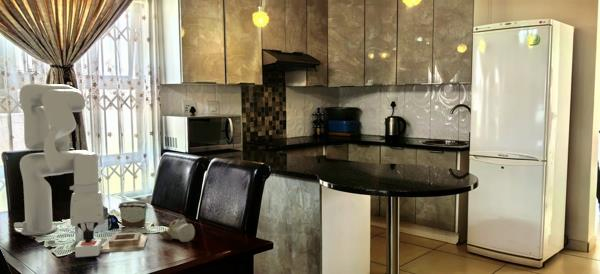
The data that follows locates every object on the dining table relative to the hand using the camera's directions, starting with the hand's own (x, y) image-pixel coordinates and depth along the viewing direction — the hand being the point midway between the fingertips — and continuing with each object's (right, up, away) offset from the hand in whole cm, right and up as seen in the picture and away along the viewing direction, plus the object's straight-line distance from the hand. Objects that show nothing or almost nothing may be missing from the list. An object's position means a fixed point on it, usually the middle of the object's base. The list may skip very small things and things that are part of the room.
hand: (88, 241), depth 161 cm
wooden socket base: (+9, -3, +10) cm, 14 cm away
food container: (+4, -2, +36) cm, 36 cm away
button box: (0, -4, 0) cm, 4 cm away
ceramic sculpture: (+27, -3, +17) cm, 32 cm away
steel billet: (-9, -3, +15) cm, 17 cm away
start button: (0, -2, 0) cm, 2 cm away
